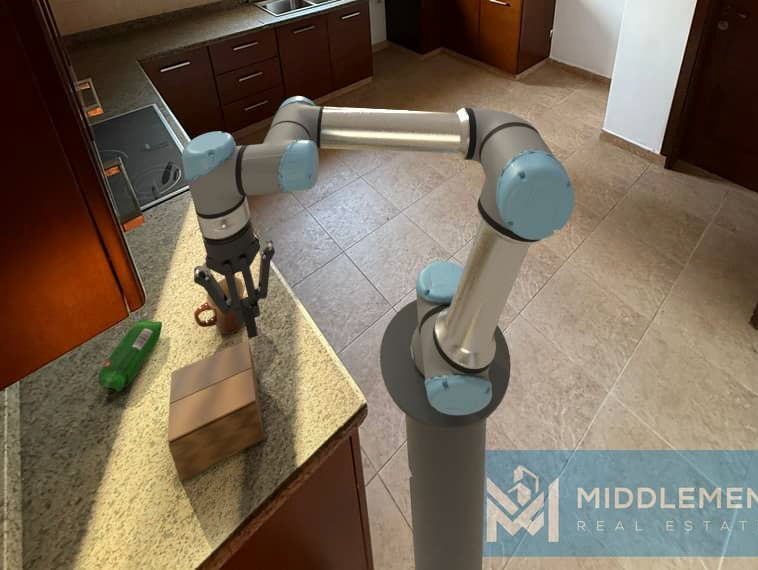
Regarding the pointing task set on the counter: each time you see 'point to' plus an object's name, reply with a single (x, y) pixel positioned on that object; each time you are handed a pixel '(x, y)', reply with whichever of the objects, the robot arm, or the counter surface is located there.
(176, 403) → the flap
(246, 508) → the counter surface
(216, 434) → the carton
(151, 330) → the snack package
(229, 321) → the mug
